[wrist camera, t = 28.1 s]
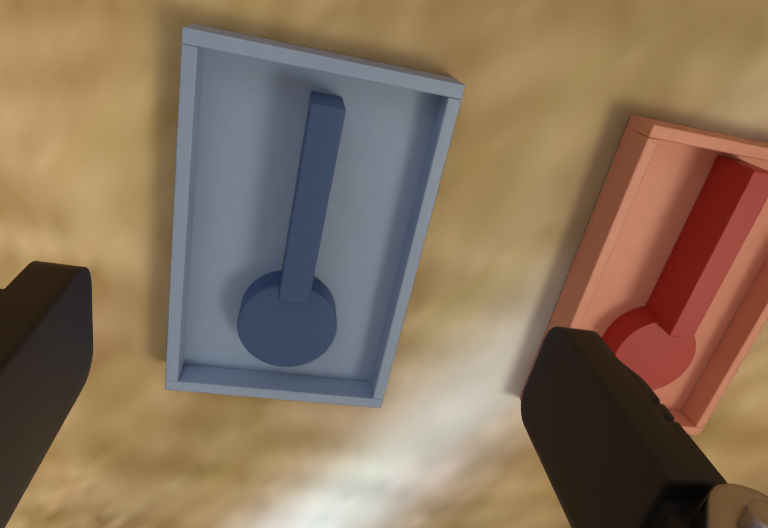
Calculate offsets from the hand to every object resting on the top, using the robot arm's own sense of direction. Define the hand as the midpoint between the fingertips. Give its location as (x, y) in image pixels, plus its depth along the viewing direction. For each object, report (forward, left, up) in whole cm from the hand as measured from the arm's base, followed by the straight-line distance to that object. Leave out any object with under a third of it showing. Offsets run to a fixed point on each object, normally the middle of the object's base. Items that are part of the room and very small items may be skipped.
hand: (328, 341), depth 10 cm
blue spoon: (+6, 0, -16) cm, 18 cm away
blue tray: (+6, 0, -17) cm, 18 cm away
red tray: (+6, +20, -17) cm, 27 cm away
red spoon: (+5, +20, -17) cm, 26 cm away
